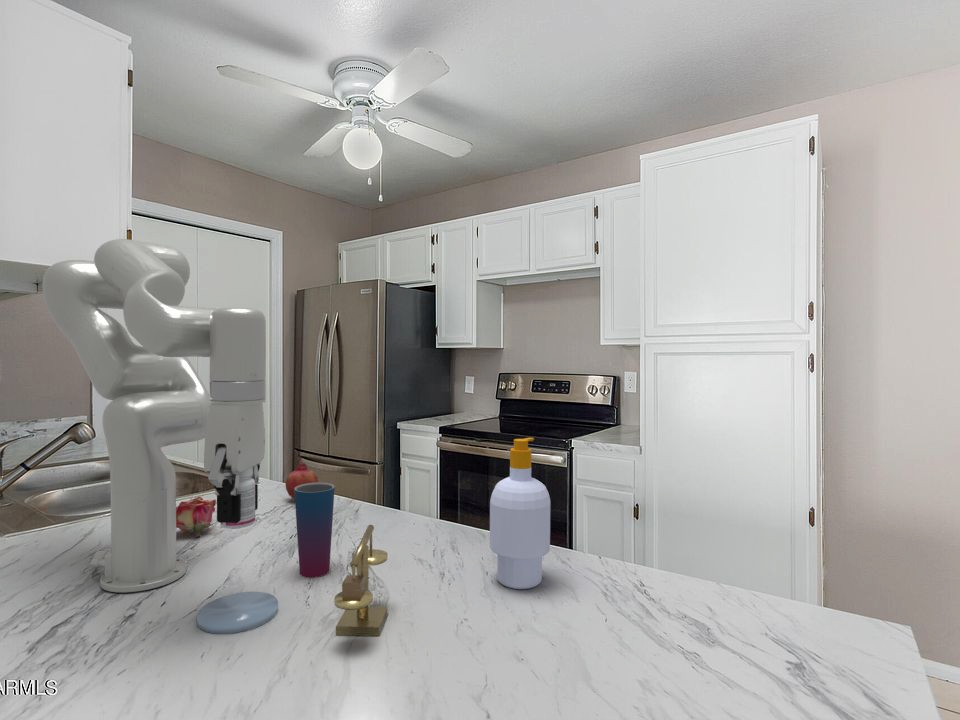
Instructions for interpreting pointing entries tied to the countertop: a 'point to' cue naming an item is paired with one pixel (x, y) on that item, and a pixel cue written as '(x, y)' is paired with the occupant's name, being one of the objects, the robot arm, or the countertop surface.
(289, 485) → the fruit
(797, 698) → the countertop surface
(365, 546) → the balance
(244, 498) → the pill bottle
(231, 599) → the saucer
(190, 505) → the flower
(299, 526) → the cup
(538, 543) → the soap bottle
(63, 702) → the countertop surface
